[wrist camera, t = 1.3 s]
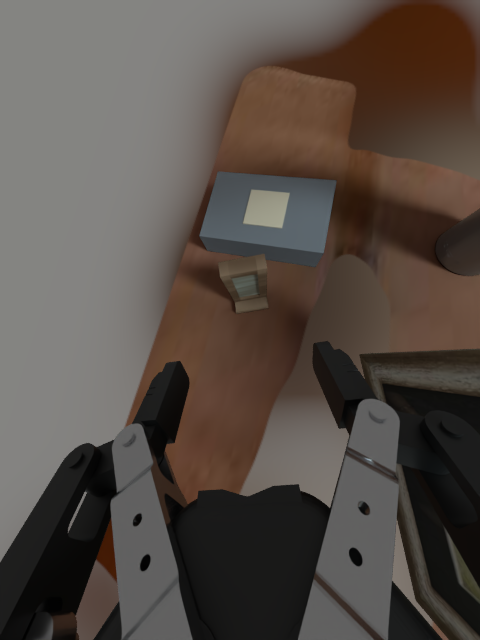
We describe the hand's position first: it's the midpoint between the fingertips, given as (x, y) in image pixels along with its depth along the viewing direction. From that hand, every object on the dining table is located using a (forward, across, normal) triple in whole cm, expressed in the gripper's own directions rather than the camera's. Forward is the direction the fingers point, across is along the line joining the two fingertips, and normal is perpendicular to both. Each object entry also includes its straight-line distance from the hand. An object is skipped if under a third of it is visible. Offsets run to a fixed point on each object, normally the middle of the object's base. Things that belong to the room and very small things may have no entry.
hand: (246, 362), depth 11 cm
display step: (+35, -6, -2) cm, 35 cm away
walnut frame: (+25, 0, +8) cm, 26 cm away
